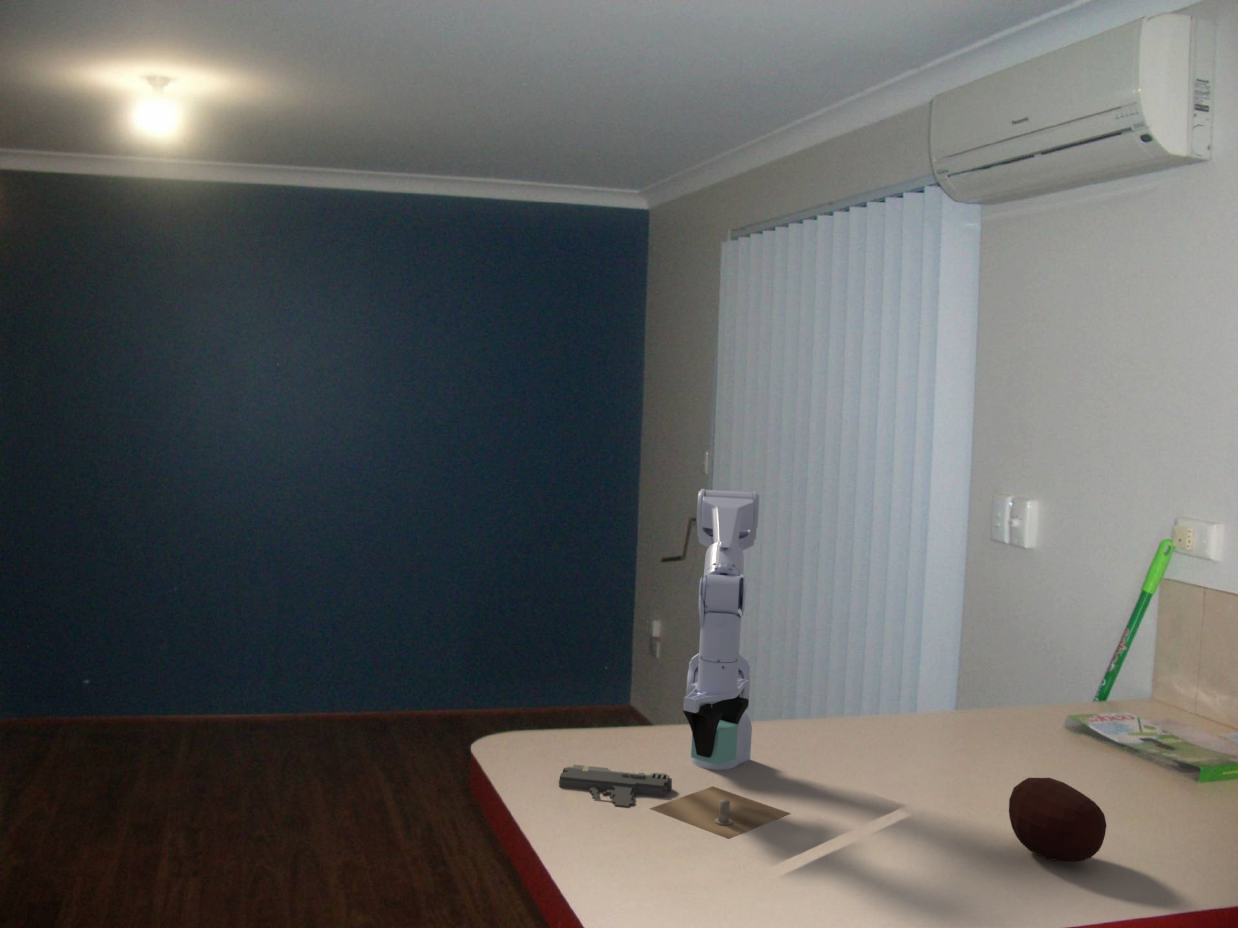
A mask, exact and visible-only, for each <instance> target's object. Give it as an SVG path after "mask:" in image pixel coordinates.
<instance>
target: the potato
mask: <svg viewBox="0 0 1238 928" xmlns="http://www.w3.org/2000/svg"><path fill="white" fill-rule="evenodd" d="M1008 815H1009V816H1008V817H1009V820H1010V825H1011V828H1012V830H1013V833H1014V835H1015V837H1016V838H1017V839H1018V841H1019V842H1020V843H1021V844H1022V845H1023V846H1024V847H1025V848H1026V849H1027V850H1028V851H1030V852H1032V853H1034V854H1036V855H1038V856H1039V857H1040V856H1041V857H1043V858H1045V859H1047V860H1051V861H1052V860H1053V861H1059V862H1073V863H1074V862H1075V863H1076V862H1082V861H1083V862H1084V861H1086V860H1089V859H1091V858H1093V857H1094V856H1095V855H1096V854H1097V853H1098V852H1099V851H1100V849H1101V848H1102V846H1103V843H1104V839H1105V837H1106V832H1107V831H1106V830H1107V821H1106V815H1105V813H1104V812H1103V810H1102V809H1101V807H1100V806H1099V805H1098V804H1097V803H1096V802H1095V801H1094V800H1092V799H1091V798H1090V797H1088V796H1087V795H1085V794H1084V793H1082V792H1081V791H1079V790H1077V789H1076V788H1074V787H1072V786H1071V785H1069V784H1068V783H1065V782H1064V781H1061V780H1057V779H1055V778H1052V777H1027V778H1025V779H1024V780H1022V781H1021V782H1019V783H1018V784H1016V786H1014V787H1013V790H1012V791H1011V795H1009V800H1008Z"/></svg>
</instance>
